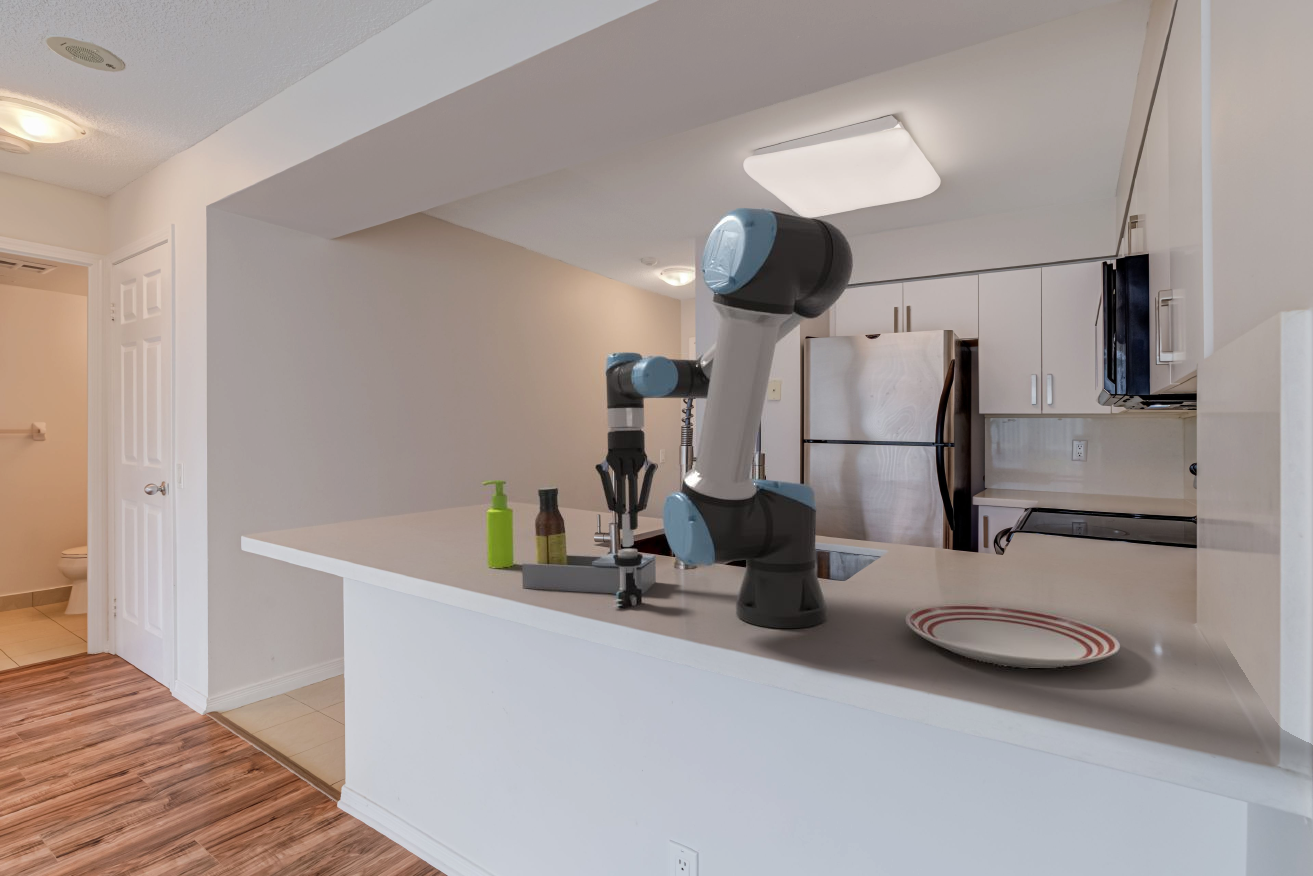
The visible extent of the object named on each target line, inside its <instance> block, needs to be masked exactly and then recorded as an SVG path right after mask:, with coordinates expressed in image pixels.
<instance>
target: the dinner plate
mask: <svg viewBox="0 0 1313 876" xmlns="http://www.w3.org/2000/svg"><path fill="white" fill-rule="evenodd" d="M904 618H905V623H906V625H907V627H909V628H910V629H911V630H912V631H913V632H914V633H916V634H917V635H918V636H920V637H922V638H924V639H925V640H927V641H928V642H930V643H932V644H935V645H937V646H939V647H941V648H943V649H946V650H947V651H950V652H952V653H954V654H956V653H957V654H956V655H958V654H959V655H958V656H961V655H962V656H961V657H963V656H965V657H964V658H967V657H969V658H968V659H970V658H972V659H971V660H973V659H975V660H974V661H977V660H979V661H978V662H981V661H983V662H982V663H985V662H988V663H987V664H989V663H994V664H993V665H995V664H998V665H997V666H1001V665H1006V666H1005V667H1007V666H1013V667H1012V668H1015V667H1021V668H1020V669H1028V668H1053V669H1056V668H1055V667H1061V668H1064V667H1063V666H1067V667H1071V666H1080V665H1086V664H1090V663H1094V662H1098V661H1100V660H1101V661H1102V660H1104V659H1106V658H1108V657H1111V656H1113V655H1115V654H1116V653H1118V652H1119V651H1120V649H1121V644H1120V642H1119V640H1118V639H1117V638H1116V637H1115V636H1113V635H1112V634H1110V633H1108V632H1107V631H1105V630H1102V629H1101V628H1099V627H1096V626H1094V625H1092V624H1091V625H1090V624H1089V623H1085V622H1083V621H1079V620H1076V619H1072V618H1069V617H1065V616H1061V615H1058V614H1057V615H1056V614H1052V613H1048V612H1042V611H1037V610H1032V609H1031V610H1030V609H1024V608H1018V607H1010V606H1001V605H1000V606H999V605H991V604H990V605H989V604H987V605H986V604H973V603H972V604H969V603H965V604H964V603H948V604H946V603H945V604H936V605H929V606H924V607H919V608H916V609H913V610H912V611H910V612H908V613H907V614H906V615H905V617H904Z"/></svg>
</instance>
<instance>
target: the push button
mask: <svg viewBox="0 0 1313 876" xmlns="http://www.w3.org/2000/svg"><path fill="white" fill-rule="evenodd" d="M615 554H616V555H614V556H613V558H614V559H615V565H617V566H619V568H620V588H619V590H620V591H619V592H617V593H616V594H615V597H616V598H615V599H614V600H612V603H613V602H614V603H616V604H615V605H613V606H612V607H613V608H617V607H618V608H622V609H626V608H628V607H629V608H630V607H632V606H633V607H634V606H637V605H641V604H642V601H643V600H642V599H643V597H642V596H643V594H642V590H641V589H638V588H637V584H636V567H638V565H640V564H641V559H642V558H643V555H644V554H641V553H638V549H637V548H630V547H626V548H621V549H618V550H617V553H615Z"/></svg>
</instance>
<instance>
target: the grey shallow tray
mask: <svg viewBox="0 0 1313 876" xmlns="http://www.w3.org/2000/svg"><path fill="white" fill-rule="evenodd" d="M603 556H604V555H602V556H601V555H585V554H584V555H582V554H579V555H577V554H567V565H552V564H537V563H529V562H528V563H526V562H523V563H522V568H521V569H522V570H521V571H522V573H521V575H522V576H521V577H522V589H529V590H530V589H532V590H548V591H549V590H551V591H565V592H566V591H567V592H579V593H580V592H581V593H582V592H583V593H584V592H585V593H598V594H614V595H616V593H617V592H619V591H620V590H619V588H620V568H619V566H602V565H592V562H593V561H595V560H597V559H599V558H601V557H603ZM656 563H657V561H656V558H655V559H654V560H652V561H650V562H649V563H647V564H646V565H644V566H642V567H636V584H637V588H638V589H641V590H642V595H643V594H645V593H646V592H647V590H649V589H650V588H651V587H653V586H654V584H655V583H657V579H656V577H657V576H656V574H657V571H656V567H657V566H656Z"/></svg>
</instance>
